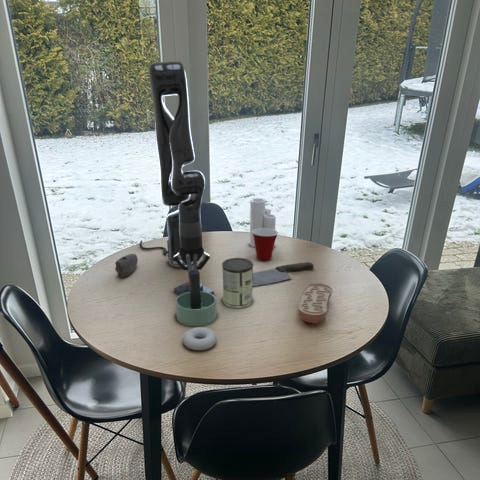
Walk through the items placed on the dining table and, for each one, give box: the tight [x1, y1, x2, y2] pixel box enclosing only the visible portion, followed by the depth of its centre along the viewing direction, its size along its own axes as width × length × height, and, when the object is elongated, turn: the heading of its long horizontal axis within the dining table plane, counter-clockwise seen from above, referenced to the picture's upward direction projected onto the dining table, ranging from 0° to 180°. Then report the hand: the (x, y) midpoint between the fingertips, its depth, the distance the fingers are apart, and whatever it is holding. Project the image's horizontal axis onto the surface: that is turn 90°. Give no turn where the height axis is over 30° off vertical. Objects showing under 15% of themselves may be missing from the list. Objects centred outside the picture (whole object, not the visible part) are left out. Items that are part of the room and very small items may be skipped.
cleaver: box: [252, 261, 314, 287], centre depth 181 cm, size 30×10×2 cm, turn 116°
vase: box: [249, 197, 277, 248], centre depth 205 cm, size 11×7×20 cm, turn 77°
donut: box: [182, 326, 217, 351], centre depth 139 cm, size 10×4×10 cm
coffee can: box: [221, 257, 254, 309], centre depth 160 cm, size 10×10×14 cm
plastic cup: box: [252, 228, 279, 262], centre depth 194 cm, size 11×11×12 cm
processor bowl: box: [174, 291, 218, 327], centre depth 153 cm, size 13×13×6 cm
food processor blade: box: [185, 270, 203, 309], centre depth 150 cm, size 8×8×15 cm
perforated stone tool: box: [115, 253, 139, 278], centre depth 182 cm, size 15×5×7 cm, turn 163°
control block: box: [173, 281, 215, 296], centre depth 167 cm, size 12×8×4 cm
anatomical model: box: [297, 282, 333, 324], centre depth 157 cm, size 23×10×5 cm, turn 164°
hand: (192, 280), depth 166 cm, fingers closed
